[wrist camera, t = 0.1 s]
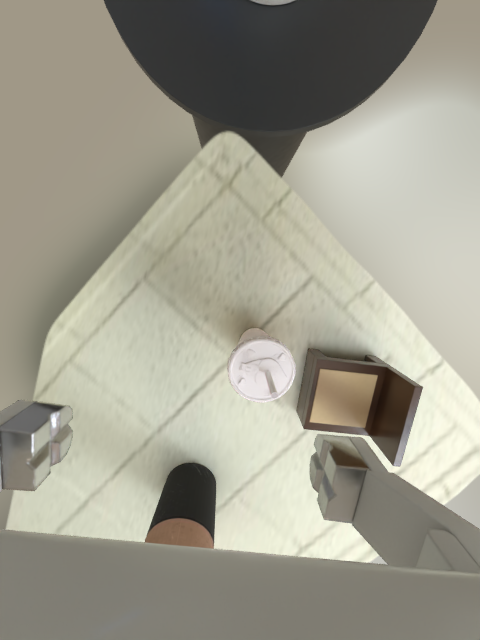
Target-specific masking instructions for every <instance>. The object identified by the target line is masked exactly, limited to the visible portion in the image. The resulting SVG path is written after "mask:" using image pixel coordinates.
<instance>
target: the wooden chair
mask: <svg viewBox="0 0 480 640" xmlns="http://www.w3.org/2000/svg"><path fill="white" fill-rule="evenodd" d="M422 389H423V387H422V386H420V385H419V384H417V383H416V382H414V381H413V380H411V379H410V378H408V377H406V376H405V375H403V374H402V373H400V372H399V371H397V370H396V369H394V368H393V367H391V366H390V365H388V364H387V363H385V362H384V361H382V360H380V359H379V358H377V357H376V356H368V355H366V357H365V361H356V360H348V359H339V358H330V357H325V356H324V355H323V354H322V353H321V352H320V351H319V350H317V349H308V353H307V358H306V364H305V369H304V374H303V380H302V385H301V390H300V396H299V401H298V406H297V414H298V416H299V418H300V421H301V423H302V426H303V428H304V429H309V430H318V431H328V432H338V433H347V434H357V435H366V436H370V437H371V438H372V439H373V441H374V442H375V443H376V445H377V446H378V447H379V448H380V450H381V451H382V452H383V454H384V455H385V456H386V457H387V459H388V460H389V461H390V462H391V464H392V465H393V466H401V462H402V459H403V455H404V452H405V448H406V445H407V441H408V438H409V434H410V431H411V427H412V424H413V420H414V417H415V413H416V410H417V406H418V403H419V399H420V396H421V392H422Z"/></svg>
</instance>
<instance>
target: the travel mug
mask: <svg viewBox="0 0 480 640" xmlns="http://www.w3.org/2000/svg"><path fill="white" fill-rule="evenodd" d="M215 505H216V481H215V478H214V475H213V474H212V473H211V471H210V470H209V469H207V468H206V467H204V466H202V465H199V464H195V463H187V464H182V465H180V466H178V467H176V468H175V469H173V470H172V471H171V473H170V474H169V476H168V478H167V480H166V483H165V485H164V488H163V491H162V494H161V497H160V500H159V502H158V505H157V508H156V511H155V514H154V516H153V519H152V522H151V525H150V528H149V531H148V533H147V537H146V539H145V542H146V543H157V544H168V545H179V546H190V547H201V548H212V549H214V529H215Z"/></svg>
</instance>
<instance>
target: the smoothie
mask: <svg viewBox="0 0 480 640" xmlns="http://www.w3.org/2000/svg"><path fill="white" fill-rule="evenodd" d="M227 369H228V376H229V380H230V383H231V385H232V387H233V388H234V390H235V391H236V392H237V393H238V394H239V395H240V396H242V397H243V398H245V399H247V400H250V401H254V402H268V401H272V400H275V399H277V398H279V397H281V396H282V395H283V394H284V393H286V392H287V390H288V389H289V388H290V386H291V385H292V383H293V381H294V377H295V370H296V369H295V362H294V359H293V357H292V354H291V352H290V351H289V349H288V348H287V347H286V345H285V344H283V343H282V342H281V341H279V340H277V339H275V338H272V337H270V336H269V335H268V334H267V333H265V332H264V331H263V330H261V329H259V328H250V329H248V330H246V331H245V332H244V333H243V334H242V336H241V338H240V340H239V343H238V345H237V346H236V348H235V349H234V350H233V351H232V353H231V355H230V358H229V360H228V368H227Z"/></svg>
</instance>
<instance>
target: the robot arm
mask: <svg viewBox="0 0 480 640" xmlns="http://www.w3.org/2000/svg"><path fill="white" fill-rule="evenodd" d="M250 1H253V2H255V3H259V4H263V5H282V4H287V3H290V2H293V1H295V0H250ZM72 419H73V410H72V408H71V407H70V406H68V405H61V404H53V403H46V402H38V401H30V400H18V401H16V402H15V403H13V404H12V405H10V406H8V407H7V408H5V409H4V410H2V411H0V492H1V491H2V489H9V490H10V489H11V490H24V491H35V490H36V489H37V488H38V486H39V485H40V484H41V483H42V482H43V481H44V480H45V479H46V477H47V476H48V475H49V474H50V467H51V466H53V465H55V464H57V463H59V462H61V460H62V459H63V458H64V457H65V456H66V454H67V452H68V450H69V448H70V446H71V442H72V438H73V430H72V429H71V427H70V426H69V425H68V423H69V422H70V421H71V420H72ZM314 447H315V449H316V451H317V452H315V453H314V454H313V455H312V456H311V461H310V480H311V483H312V487H313V488H314V489H315V490H316V491H317V492H318V493H319V494H318V498H317V501H318V504H319V507H320V510H321V513H322V516H323V518H324V520H330V521H338V522H345V523H352V525H353V526H354V528H355V529H356V530H357V531H358V532H359V533H360V534H361V535H362V536H363V537H364V539H365V540H366V541H367V542H368V543H369V544H370V545H371V546H372V547H373V549H374V550H375V551H376V552H377V553H378V554H379V555H380V556H381V557H382V559H383V560H384V561H385V562H386V563H387V564H388V565H385V564H374V563H363V562H351V561H341V560H330V559H319V558H308V557H298V556H287V555H276V554H266V553H255V552H244V551H234V550H223V549H212V548H201V547H190V546H179V545H168V544H157V543H146V542H135V541H123V540H112V539H101V538H90V537H79V536H68V535H57V534H47V533H36V532H25V531H14V530H2V529H0V640H480V529H479V528H477V527H475V526H474V525H472V524H471V523H469V522H468V521H466V520H465V519H463V518H462V517H460V516H458V515H457V514H456V513H454V512H453V511H451V510H449V509H448V508H446V507H445V506H443V505H442V504H440V503H439V502H437V501H436V500H434V499H433V498H431V497H430V496H428V495H426V494H425V493H423V492H422V491H420V490H419V489H417V488H416V487H414V486H413V485H411V484H410V483H408V482H406V481H405V480H403V479H402V478H400V477H399V476H397V475H396V474H394V473H389V472H388V471H387V469H386V468H385V467H384V465H383V464H382V463H381V461H380V460H379V459H378V457H377V456H376V454H375V453H374V452H373V450H372V449H371V448H370V446H369V445H368V444H367V442H366V441H365V440H364V439H363V438H361V437H348V436H347V437H346V436H334V435H323V434H317V436H316V438H315V442H314Z"/></svg>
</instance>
